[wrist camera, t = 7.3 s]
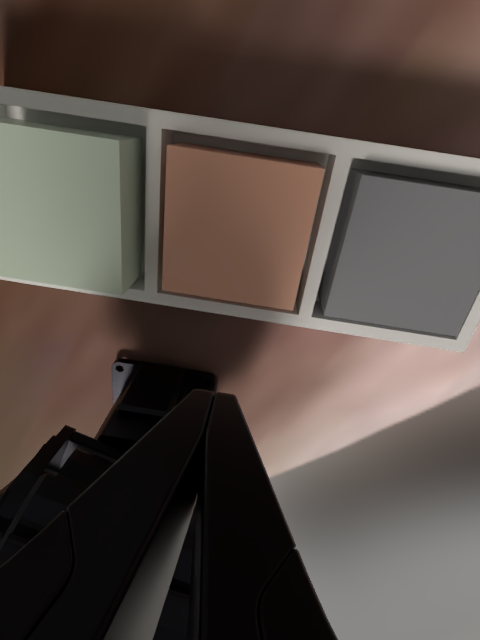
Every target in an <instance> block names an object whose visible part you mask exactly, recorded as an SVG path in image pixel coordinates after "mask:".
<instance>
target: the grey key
mask: <svg viewBox="0 0 480 640" xmlns="http://www.w3.org/2000/svg"><path fill="white" fill-rule="evenodd" d="M479 288H480V188H479V187H473V186H466V185H459V184H453V183H446V182H440V181H433V180H427V179H420V178H414V177H407V176H401V175H394V174H387V173H381V172H374V171H368V170H361V169H355V168H350V171H349V175H348V179H347V182H346V186H345V190H344V194H343V198H342V202H341V206H340V210H339V214H338V218H337V222H336V225H335V229H334V233H333V237H332V241H331V245H330V249H329V253H328V257H327V261H326V264H325V268H324V272H323V276H322V280H321V284H320V288H319V292H318V295H319V299H320V303H321V307H322V311H323V315H324V316H329V317H335V318H342V319H348V320H355V321H361V322H367V323H374V324H380V325H386V326H393V327H399V328H405V329H412V330H418V331H424V332H431V333H437V334H443V335H450V336H457V334H458V332H459V330H460V328H461V326H462V324H463V322H464V320H465V317H466V315H467V313H468V311H469V309H470V307H471V305H472V303H473V301H474V299H475V297H476V295H477V293H478V290H479Z"/></svg>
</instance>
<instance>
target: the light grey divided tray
mask: <svg viewBox="0 0 480 640" xmlns="http://www.w3.org/2000/svg"><path fill="white" fill-rule="evenodd" d="M0 117H7V118H13V119H20V120H26V121H33V122H39V123H46V124H52V125H59V126H65V127H72V128H79V129H85V130H92V131H98V132H105V133H111V134H118V135H124V136H131V137H138V138H142V188H141V275H140V276H139V277H138V278H137V280H136V281H135V282H134V283H133V284H132V285H131V286H130V287H129V288H128V290H127V291H126V292H125V293H124V294H123V295H116V294H110V293H103V292H97V291H91V290H84V289H78V288H72V287H65V286H59V285H53V284H46V283H40V282H34V281H27V280H21V279H15V278H8V277H2V276H0V279H1V280H7V281H14V282H20V283H26V284H33V285H39V286H45V287H52V288H58V289H64V290H71V291H77V292H83V293H90V294H96V295H102V296H109V297H115V298H121V299H128V300H134V301H140V302H147V303H153V304H159V305H166V306H172V307H178V308H185V309H191V310H197V311H204V312H210V313H216V314H223V315H229V316H235V317H242V318H248V319H254V320H261V321H267V322H273V323H280V324H286V325H292V326H299V327H305V328H311V329H318V330H324V331H330V332H337V333H343V334H349V335H356V336H362V337H368V338H375V339H381V340H387V341H394V342H400V343H406V344H413V345H419V346H425V347H432V348H438V349H444V350H451V351H457V352H463V353H464V351H465V349H466V347H467V345H468V343H469V341H470V339H471V337H472V335H473V333H474V331H475V329H476V327H477V325H478V323H479V321H480V288H479V290H478V293H477V295H476V297H475V299H474V301H473V303H472V305H471V307H470V309H469V311H468V313H467V315H466V317H465V320H464V322H463V324H462V326H461V328H460V330H459V332H458V334H457V336H450V335H443V334H437V333H431V332H424V331H418V330H412V329H405V328H399V327H393V326H386V325H380V324H374V323H367V322H361V321H355V320H348V319H342V318H335V317H329V316H324V315H323V311H322V307H321V303H320V299H319V295H318V292H319V288H320V284H321V280H322V276H323V272H324V268H325V264H326V261H327V257H328V253H329V249H330V245H331V241H332V237H333V233H334V229H335V225H336V222H337V218H338V214H339V210H340V206H341V202H342V198H343V194H344V190H345V186H346V182H347V179H348V175H349V171H350V168H355V169H361V170H368V171H374V172H381V173H387V174H394V175H401V176H407V177H414V178H420V179H427V180H433V181H440V182H446V183H453V184H459V185H466V186H473V187H479V188H480V158H475V157H469V156H462V155H456V154H449V153H442V152H436V151H429V150H423V149H416V148H409V147H403V146H396V145H390V144H383V143H376V142H370V141H363V140H357V139H350V138H343V137H337V136H330V135H324V134H317V133H311V132H304V131H297V130H291V129H284V128H278V127H271V126H264V125H258V124H251V123H245V122H238V121H231V120H225V119H218V118H212V117H205V116H198V115H192V114H185V113H179V112H172V111H166V110H159V109H152V108H146V107H139V106H133V105H126V104H119V103H113V102H106V101H100V100H93V99H86V98H80V97H73V96H67V95H60V94H53V93H47V92H40V91H34V90H27V89H20V88H14V87H7V86H0ZM180 142H184V143H191V144H197V145H204V146H211V147H217V148H224V149H230V150H237V151H243V152H250V153H256V154H263V155H269V156H276V157H283V158H289V159H296V160H302V161H309V162H315V163H319V164H320V165H321V166H322V167H323V168H324V169H325V172H324V176H323V180H322V185H321V189H320V194H319V198H318V202H317V207H316V211H315V216H314V220H313V225H312V229H311V233H310V238H309V242H308V247H307V251H306V256H305V260H304V264H303V269H302V273H301V278H300V282H299V286H298V291H297V295H296V300H295V304H294V309H293V311H291V310H285V309H278V308H272V307H265V306H259V305H253V304H246V303H240V302H234V301H227V300H221V299H215V298H208V297H202V296H196V295H189V294H183V293H177V292H170V291H164V290H162V269H163V240H164V212H165V184H166V155H167V145H169V144H175V143H180Z"/></svg>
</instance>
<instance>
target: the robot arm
mask: <svg viewBox="0 0 480 640" xmlns="http://www.w3.org/2000/svg"><path fill="white" fill-rule="evenodd" d="M118 365H120V366H122V367H123V368H120V367H119V366H118ZM205 380H210V381H211V382H206V381H205ZM215 386H216V377H215V375H213V374H212V373H209V372H203V371H196V370H190V369H184V368H179V367H173V366H167V365H161V364H154V363H148V362H140V361H134V360H128V359H117V360H116V361H115V362H114V363H113V365H112V387H113V407H112V409H111V410H110V412H109V414H108V415H107V417H106V419H105V421H104V422H103V424H102V426H101V428H100V429H99V431H98V433H97V435H96V436H95V438H91V437H89V436H86V435H84V434H81V433H79V432H76V429H74V428H72V427H69V426H67V425H65V426H64V427H63V429H62V430H61V431H60V432H59V433H58V434H57V436H54V435H53V436H52V437H51V438H50V440H49V441H48V442H47V443H46V444H44V445H43V446H42V448H41V449H40V450H39V452H38V453H37V454H36V456H35V457H34V458H33V459H32V460H31V461H30V462H29V463H28V465H27V466H26V467H25V468H24V469H23V470H22V471H21V473H20V474H19V475H18V476H17V477H16V478H15V479H14V480H13V481H11V482H10V483H9V484H8V485H6V486H5V487H4V488H3V489H2V490H0V640H338V639H337V637H336V635H335V633H334V631H333V629H332V627H331V625H330V623H329V621H328V619H327V617H326V615H325V613H324V610H323V608H322V605H321V603H320V601H319V599H318V596H317V594H316V592H315V589H314V587H313V585H312V583H311V580H310V578H309V576H308V573H307V572H306V568H305V566H304V563H303V561H302V558H301V556H300V553H299V551H298V550H297V549H295V547H296V544H295V542H294V539H293V537H292V534H291V532H290V529H289V527H288V525H287V522H286V520H285V517H284V514H283V512H282V510H281V507H280V504H279V502H278V499H277V497H276V495H275V492H274V490H273V487H272V485H271V482H270V480H269V477H268V475H267V472H266V470H265V467H264V465H263V462H262V460H261V457H260V455H259V452H258V450H257V447H256V445H255V442H254V440H253V438H252V435H251V433H250V430H249V428H248V425H247V423H246V420H245V418H244V415H243V413H242V410H241V408H240V405H239V403H238V400H237V398H236V396H235V395H233V394H227V393H221V392H217V393H216V394H215ZM214 394H215V395H214Z"/></svg>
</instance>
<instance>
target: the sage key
mask: <svg viewBox="0 0 480 640" xmlns="http://www.w3.org/2000/svg"><path fill="white" fill-rule="evenodd" d="M141 188H142V138H138V137H131V136H124V135H118V134H111V133H105V132H98V131H92V130H85V129H79V128H72V127H65V126H59V125H52V124H46V123H39V122H33V121H26V120H20V119H13V118H7V117H0V276H2V277H8V278H15V279H21V280H27V281H34V282H40V283H46V284H53V285H59V286H65V287H72V288H78V289H84V290H91V291H97V292H103V293H110V294H116V295H123V294H124V293H125V292H126V291H127V290H128V288H129V287H130V286H131V285H132V284H133V283H134V282H135V281H136V280H137V278H138V277H139V276H140V275H141Z"/></svg>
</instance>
